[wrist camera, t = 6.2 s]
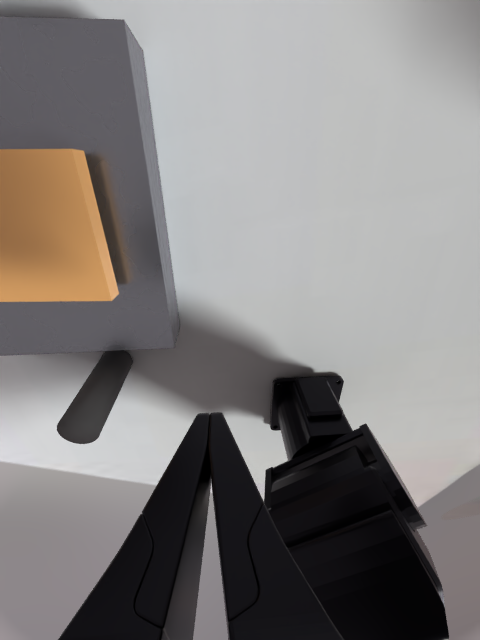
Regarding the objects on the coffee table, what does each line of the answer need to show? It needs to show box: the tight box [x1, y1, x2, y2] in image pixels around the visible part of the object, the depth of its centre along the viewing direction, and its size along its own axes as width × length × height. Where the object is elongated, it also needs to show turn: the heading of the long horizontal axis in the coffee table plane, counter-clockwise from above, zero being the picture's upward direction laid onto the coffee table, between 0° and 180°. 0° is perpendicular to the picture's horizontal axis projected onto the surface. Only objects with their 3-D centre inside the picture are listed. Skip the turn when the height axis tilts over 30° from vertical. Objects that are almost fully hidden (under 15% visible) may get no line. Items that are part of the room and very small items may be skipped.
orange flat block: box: [0, 149, 119, 302], centre depth 13 cm, size 7×8×1 cm
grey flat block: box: [0, 17, 180, 356], centre depth 15 cm, size 16×12×3 cm
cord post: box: [57, 350, 133, 444], centre depth 19 cm, size 2×2×7 cm
